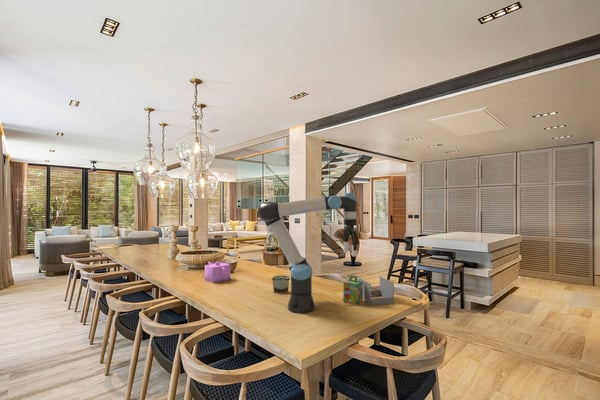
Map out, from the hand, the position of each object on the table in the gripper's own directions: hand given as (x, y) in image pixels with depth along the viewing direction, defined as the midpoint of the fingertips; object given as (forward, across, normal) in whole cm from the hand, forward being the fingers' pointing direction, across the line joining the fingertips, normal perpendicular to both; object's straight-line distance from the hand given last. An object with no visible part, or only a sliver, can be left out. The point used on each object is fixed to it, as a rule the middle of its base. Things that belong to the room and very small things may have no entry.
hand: (350, 254), depth 179 cm
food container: (+29, +31, +37) cm, 56 cm away
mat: (+28, -2, -2) cm, 28 cm away
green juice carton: (+28, -2, -1) cm, 28 cm away
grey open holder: (+28, -1, -16) cm, 32 cm away
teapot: (+30, +75, +82) cm, 115 cm away
